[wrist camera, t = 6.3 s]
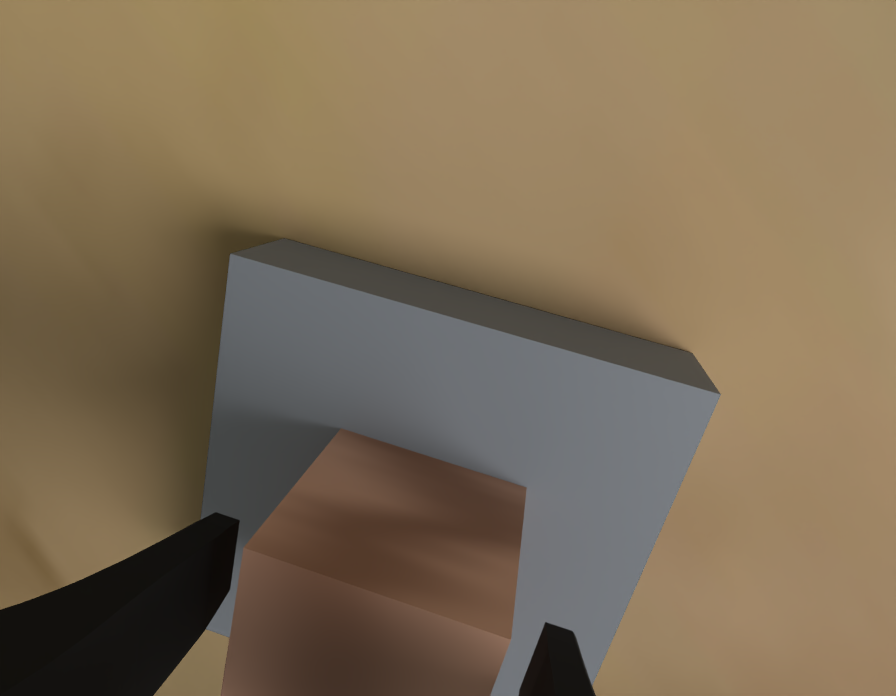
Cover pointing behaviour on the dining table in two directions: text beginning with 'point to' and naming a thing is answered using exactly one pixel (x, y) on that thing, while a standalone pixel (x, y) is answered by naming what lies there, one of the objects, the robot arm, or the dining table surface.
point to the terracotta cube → (378, 579)
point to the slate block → (458, 420)
